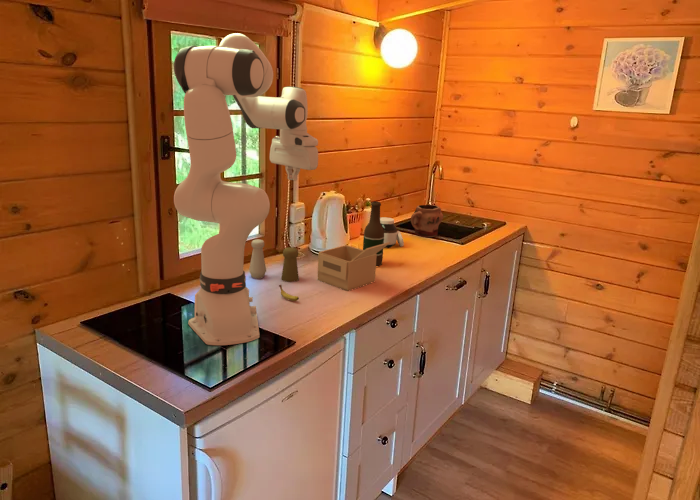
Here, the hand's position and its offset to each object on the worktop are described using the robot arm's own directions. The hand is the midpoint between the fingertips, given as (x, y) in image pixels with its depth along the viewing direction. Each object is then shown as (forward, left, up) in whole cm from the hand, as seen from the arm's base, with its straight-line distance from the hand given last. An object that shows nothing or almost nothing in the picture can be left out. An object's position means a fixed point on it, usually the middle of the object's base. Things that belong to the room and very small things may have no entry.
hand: (292, 179), depth 185 cm
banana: (-24, +8, -34) cm, 42 cm away
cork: (-6, +2, -33) cm, 34 cm away
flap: (-22, -20, -20) cm, 36 cm away
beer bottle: (+2, -33, -33) cm, 47 cm away
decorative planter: (+34, -75, -33) cm, 89 cm away
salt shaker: (-1, +12, -33) cm, 35 cm away
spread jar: (+23, -51, -33) cm, 65 cm away
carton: (-13, -16, -33) cm, 39 cm away
